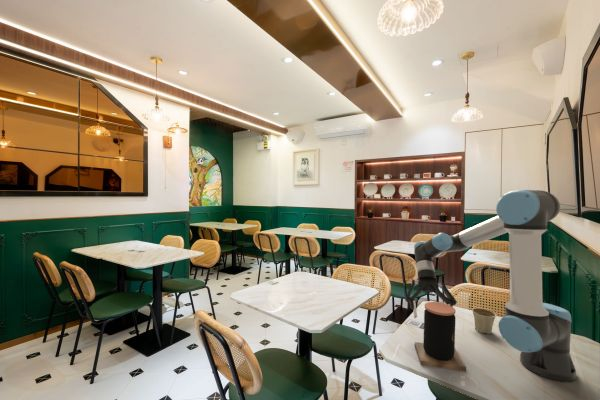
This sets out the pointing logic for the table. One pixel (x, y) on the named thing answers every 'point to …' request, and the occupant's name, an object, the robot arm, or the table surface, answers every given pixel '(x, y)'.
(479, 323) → the flower pot
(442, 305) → the coffee jar
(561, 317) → the robot arm
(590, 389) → the table surface
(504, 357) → the table surface
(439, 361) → the walnut board
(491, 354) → the table surface
